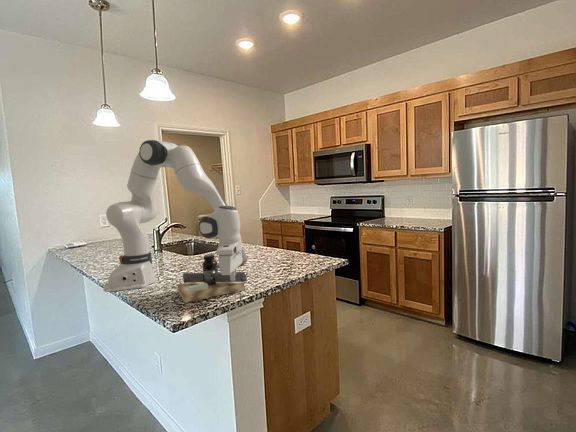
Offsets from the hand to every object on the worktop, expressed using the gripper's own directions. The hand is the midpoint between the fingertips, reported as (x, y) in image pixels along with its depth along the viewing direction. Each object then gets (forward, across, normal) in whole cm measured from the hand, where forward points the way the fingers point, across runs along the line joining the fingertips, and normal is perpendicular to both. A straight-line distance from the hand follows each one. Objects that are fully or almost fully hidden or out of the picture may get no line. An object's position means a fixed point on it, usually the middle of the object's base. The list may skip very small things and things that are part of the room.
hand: (233, 280), depth 131 cm
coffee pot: (+5, -43, -10) cm, 45 cm away
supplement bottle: (+5, -18, -16) cm, 24 cm away
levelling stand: (+5, -3, -11) cm, 12 cm away
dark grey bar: (+2, -3, -9) cm, 10 cm away
